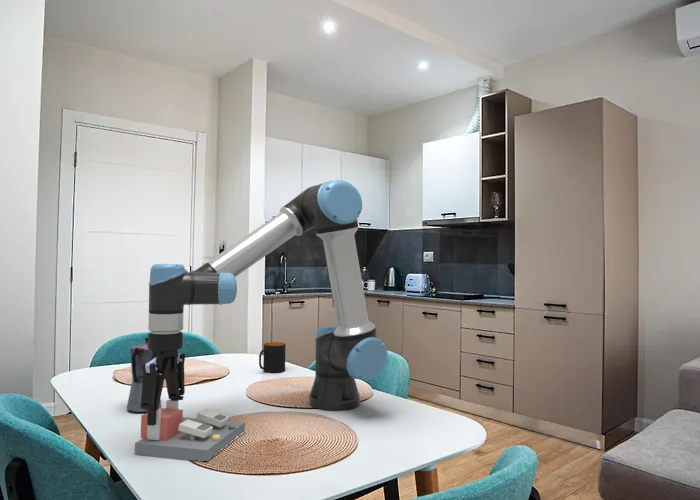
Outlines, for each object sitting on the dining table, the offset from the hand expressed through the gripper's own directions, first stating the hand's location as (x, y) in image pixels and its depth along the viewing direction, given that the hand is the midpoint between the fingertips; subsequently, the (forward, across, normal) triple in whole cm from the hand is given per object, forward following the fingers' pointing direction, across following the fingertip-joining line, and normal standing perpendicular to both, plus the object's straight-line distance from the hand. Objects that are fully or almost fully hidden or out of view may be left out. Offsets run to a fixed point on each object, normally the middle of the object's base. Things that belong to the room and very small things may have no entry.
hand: (162, 433), depth 116 cm
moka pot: (+3, -24, -21) cm, 32 cm away
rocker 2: (-2, -8, +8) cm, 12 cm away
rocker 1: (-2, 0, +8) cm, 8 cm away
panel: (+3, -4, +6) cm, 7 cm away
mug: (+3, -80, -5) cm, 80 cm away
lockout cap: (0, 0, 0) cm, 0 cm away
